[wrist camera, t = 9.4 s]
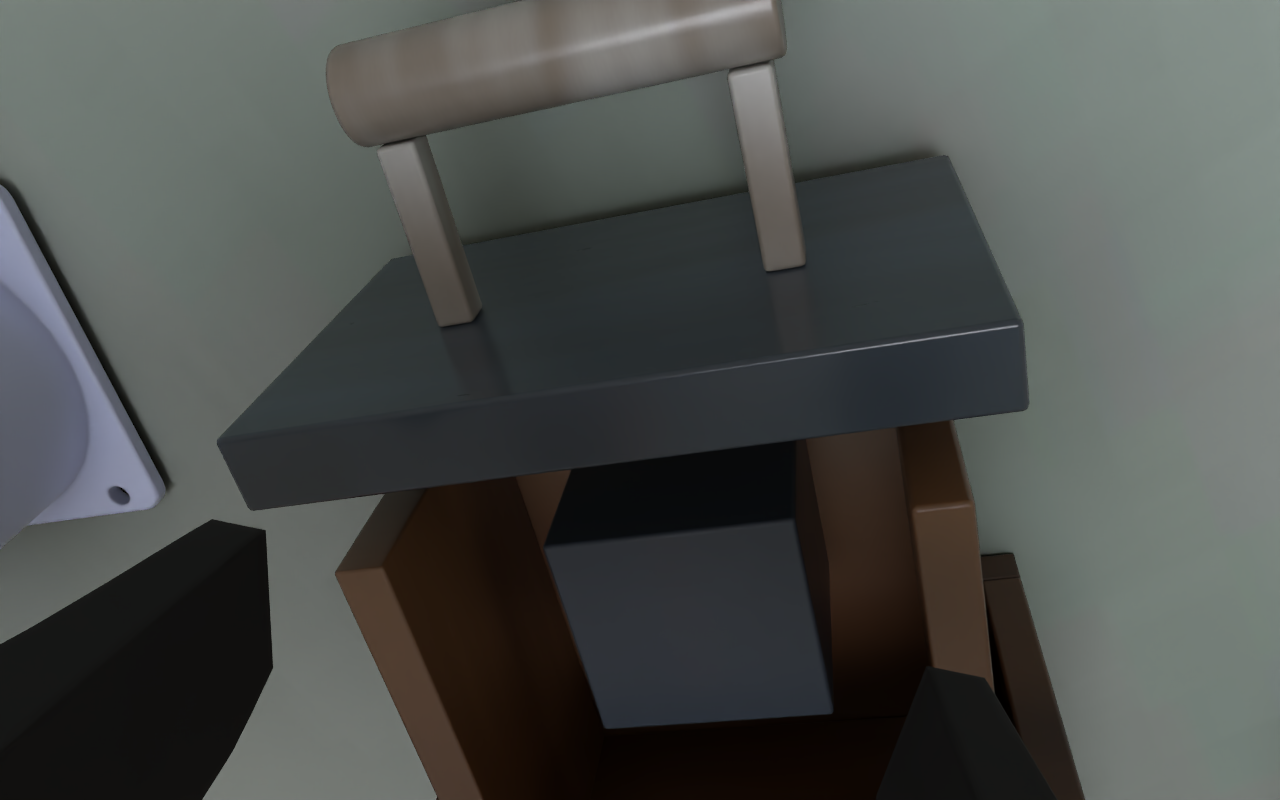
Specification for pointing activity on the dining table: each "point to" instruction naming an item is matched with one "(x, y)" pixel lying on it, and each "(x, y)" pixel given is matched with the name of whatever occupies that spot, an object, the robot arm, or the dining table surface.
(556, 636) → the drawer
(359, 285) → the dining table surface
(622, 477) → the block
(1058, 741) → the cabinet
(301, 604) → the dining table surface
